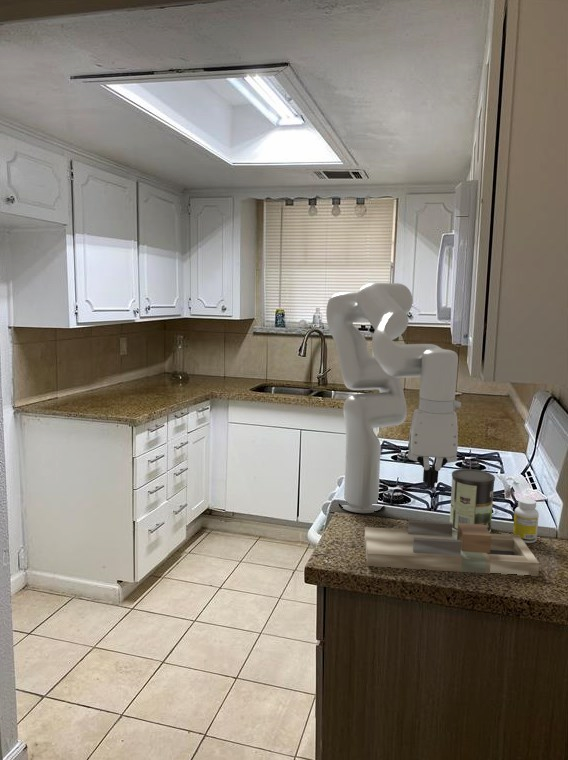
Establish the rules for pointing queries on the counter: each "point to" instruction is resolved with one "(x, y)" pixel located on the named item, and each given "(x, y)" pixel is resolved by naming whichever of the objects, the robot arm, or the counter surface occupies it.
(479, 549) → the walnut block
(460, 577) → the counter surface
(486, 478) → the coffee can
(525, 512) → the supplement bottle
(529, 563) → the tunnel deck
